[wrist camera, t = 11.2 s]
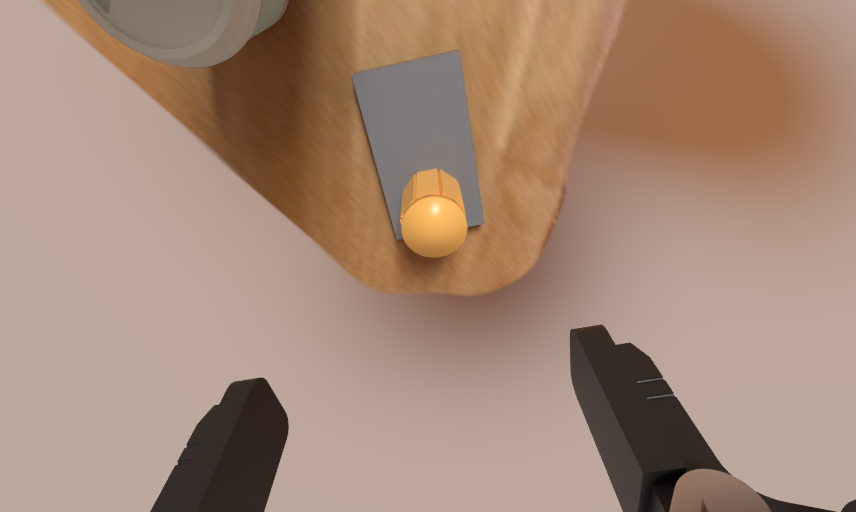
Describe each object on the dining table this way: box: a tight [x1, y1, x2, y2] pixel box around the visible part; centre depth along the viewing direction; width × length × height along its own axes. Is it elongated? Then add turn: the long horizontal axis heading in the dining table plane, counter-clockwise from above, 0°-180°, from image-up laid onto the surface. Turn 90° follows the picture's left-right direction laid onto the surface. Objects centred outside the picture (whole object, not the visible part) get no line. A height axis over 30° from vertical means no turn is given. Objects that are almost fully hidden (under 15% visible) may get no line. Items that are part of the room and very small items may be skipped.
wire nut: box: [400, 168, 468, 258], centre depth 32 cm, size 5×5×6 cm
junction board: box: [352, 50, 484, 240], centre depth 32 cm, size 14×8×5 cm, turn 11°
